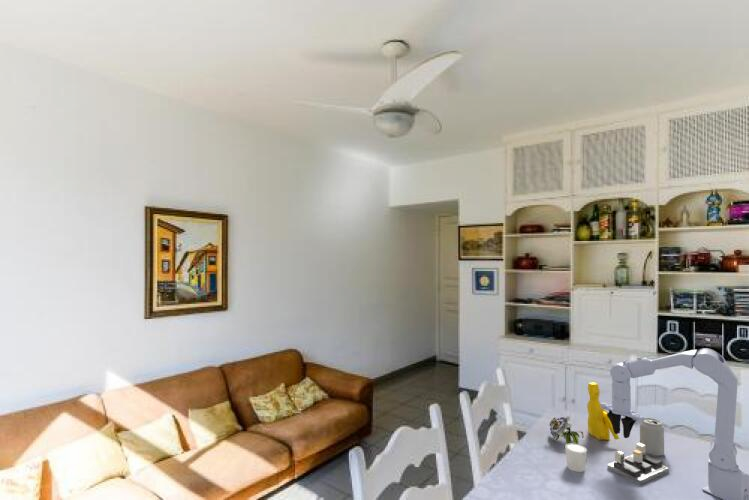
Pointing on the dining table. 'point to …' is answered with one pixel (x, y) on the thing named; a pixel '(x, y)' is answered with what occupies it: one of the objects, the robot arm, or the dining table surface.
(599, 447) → the dining table surface
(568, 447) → the white cylinder
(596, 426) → the figure statuette
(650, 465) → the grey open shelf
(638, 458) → the handle
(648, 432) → the can
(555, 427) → the passion flower
